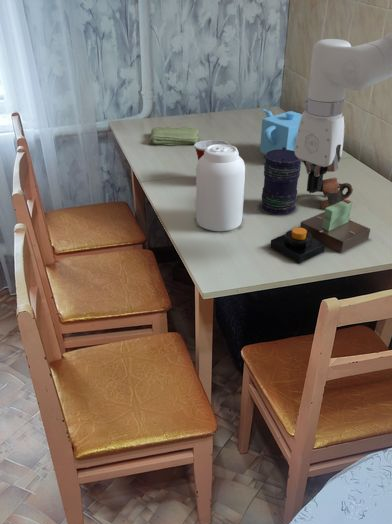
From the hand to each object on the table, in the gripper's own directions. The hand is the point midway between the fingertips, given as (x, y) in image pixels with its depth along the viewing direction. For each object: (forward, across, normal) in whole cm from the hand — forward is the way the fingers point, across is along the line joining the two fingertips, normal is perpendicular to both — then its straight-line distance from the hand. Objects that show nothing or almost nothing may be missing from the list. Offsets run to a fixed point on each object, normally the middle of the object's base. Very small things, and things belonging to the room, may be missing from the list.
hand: (313, 190), depth 126 cm
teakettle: (+15, -48, +45) cm, 68 cm away
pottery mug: (+16, -15, +27) cm, 35 cm away
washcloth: (+15, -86, +25) cm, 91 cm away
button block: (+16, -2, -1) cm, 16 cm away
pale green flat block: (+13, -1, +12) cm, 18 cm away
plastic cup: (+15, -48, +10) cm, 51 cm away
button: (+12, -2, -1) cm, 12 cm away
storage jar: (+16, -22, +13) cm, 30 cm away
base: (+16, -1, +12) cm, 20 cm away
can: (+16, -26, -6) cm, 31 cm away
